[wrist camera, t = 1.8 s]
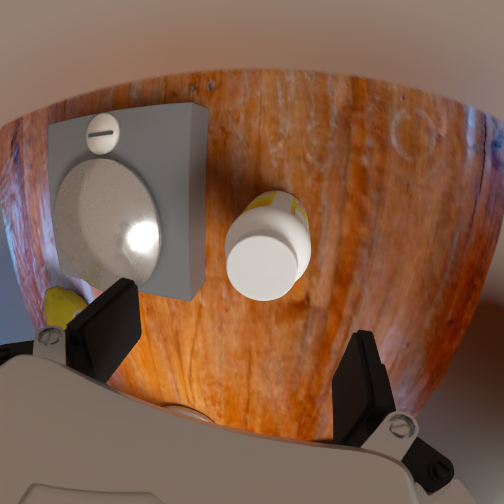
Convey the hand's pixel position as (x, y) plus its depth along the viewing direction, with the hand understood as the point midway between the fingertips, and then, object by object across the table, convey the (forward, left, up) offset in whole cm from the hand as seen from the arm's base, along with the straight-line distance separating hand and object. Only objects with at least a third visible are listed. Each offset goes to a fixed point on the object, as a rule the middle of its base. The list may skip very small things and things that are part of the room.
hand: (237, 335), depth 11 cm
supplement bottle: (0, 0, -20) cm, 20 cm away
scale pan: (-12, +13, -15) cm, 23 cm away
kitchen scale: (-10, +15, -20) cm, 27 cm away
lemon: (-32, +13, -21) cm, 40 cm away
